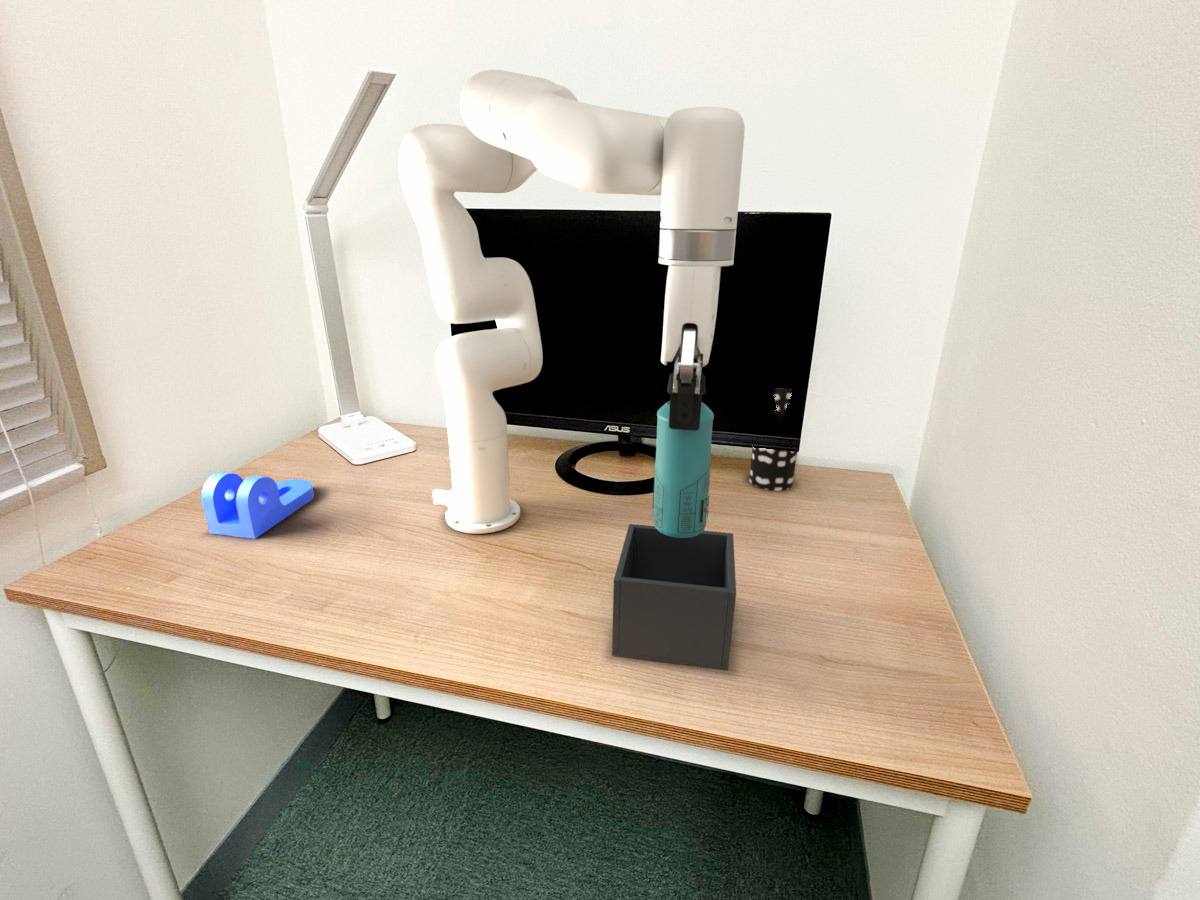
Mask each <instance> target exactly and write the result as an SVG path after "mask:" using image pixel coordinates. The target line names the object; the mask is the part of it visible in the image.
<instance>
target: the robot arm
mask: <svg viewBox="0 0 1200 900" xmlns="http://www.w3.org/2000/svg"><path fill="white" fill-rule="evenodd" d="M459 111H460V116H461V118H462V120H463V122H464V124H465V125H457V124H447V123H428V124H422V125H419V126H416V127H414V128H412V129H410V130H409V131H408V132H407V133H406V134H405V136H404V137H403V139H402V142H401V144H400V148H399V153H398V174H399V181H400V185H401V189H402V193H403V195H404V198H405V201H406V204H407V206H408V208H409V210H410V213H411V216H412V218H413V220H414V223H415V226H416V227H417V231H418V235H419V238H420V243H421V244H420V245H421V249H422V255H423V259H424V264H425V269H426V273H427V279H428V284H429V289H430V294H431V298H432V302H433V306H434V309H435V311H436V313H437V315H438V317H439V318H440V319H441V320H442V321H443V322H445V323H448V324H454V325H459V324H460V325H461V324H463V325H464V324H473V323H482V322H489V321H495V323H496V327H497V328H491V329H482V330H475V331H469V332H468V331H467V332H463V333H458V334H455V335H452V336H449V337H448V338H446V339H445V340H444V341H442V342H441V343H440V344H439V346H437V349H436V351H435V354H434V365H435V371H436V375H437V379H438V382H439V385H440V390H441V393H442V397H443V403H444V409H445V416H446V418H445V419H446V428H447V438H448V449H449V450H448V451H449V462H450V476H451V485H452V486H451V487H452V488H451V489H442V488H434V489H432V493H431V498H432V505H434V506H439V507H440V506H445V507H446V508H447V509H446V511H445V523H446V524H447V526H449V527H450V528H451V529H452V530H455V531H457V532H460V533H465V534H473V535H474V534H475V535H476V534H477V535H478V534H479V535H482V534H483V535H484V534H490V533H496V532H500V531H503V530H506V529H508V528H509V527H511V526H513V525H514V524H516V523H517V522H518V520H519V519H520V517H521V507H520V505H519V504H518V503H517V501H515V500H514V499H511V483H510V459H509V458H510V457H509V438H508V422H507V416H506V413H505V410H504V409H503V407H502V406H501V405H500V404H499V403H498V401H497V400H496V399H495V397H494V394H493V393H494V392H495V391H499V390H501V389H502V390H503V389H506V388H510V387H515V386H519V385H523V384H526V383H530V382H532V381H533V380H535V379H536V378H537V377H538V376H539V374H540V372H541V371H542V367H543V361H544V360H543V359H544V357H543V356H544V355H543V353H544V352H543V344H542V339H541V331H540V326H539V321H538V313H537V308H536V301H535V296H534V290H533V286H532V283H531V280H530V277H529V275H528V274H527V271H526V270H525V268H524V267H523V266H522V265H521V264H520V263H519V262H518V261H516V260H514V259H511V258H509V257H503V256H502V257H484V255H483V252H482V248H481V243H480V237H479V232H478V228H477V225H476V223H475V220H473V218H472V216H471V215H470V213H469V212H468V209H466V207H465V206H464V205H463V204H462V203H461V201H459V200H458V199H457V198H456V196H455V193H456V192H457V193H458V192H460V193H480V194H505V193H510V192H513V191H515V190H517V189H518V188H520V187H521V186H523V185H524V183H526V181H528V179H530V177H531V176H533V175H534V173H536V171H538V172H539V173H541V174H542V175H544V176H546V177H548V178H551V179H553V180H555V181H558V182H561V183H563V184H566V185H569V186H571V187H574V188H576V189H579V190H582V191H586V192H590V193H593V194H594V193H595V194H604V195H605V194H606V195H609V194H611V195H613V194H614V195H615V194H616V195H636V196H660V216H659V217H660V218H659V219H660V220H659V228H660V229H659V237H658V239H659V240H658V244H659V245H658V261H657V262H658V264H660V265H665V266H668V267H667V274H666V283H665V292H664V293H665V294H664V305H663V306H664V309H663V323H662V325H663V326H662V339H661V340H662V343H661V354H660V362H661V364H663V365H664V366H668V363H672V362H673V361H674V363H673V372H674V379H673V391H671V394H669V401H670V412H669V427H670V428H671V429H679V430H694V431H697V430H698V429H699V427H700V414H701V402H703V401H702V400H703V395H702V393H700V380H701V374H702V370H703V368H704V367H706V366H707V365H708V364H709V361H710V356H711V352H712V347H713V341H714V336H715V330H716V329H715V328H716V321H717V312H718V304H719V294H720V293H719V292H720V282H721V272H722V271H721V270H722V267H730V266H734V262H735V261H734V260H735V259H734V258H735V248H736V235H737V226H738V214H739V205H740V204H739V203H740V191H741V179H742V167H743V157H744V145H745V129H746V127H745V122H744V118H743V115H741V114H740V113H739V112H738V111H736V110H734V109H731V108H727V107H719V106H695V107H687V108H682V109H678V110H676V111H673V112H672V113H671V114H670V115H669V116H668V117H665V116H658V115H652V114H648V113H643V112H637V111H631V110H624V109H617V108H611V107H610V108H609V107H604V106H599V105H595V104H591V103H586V102H582V101H579V100H578V98H577V96H576V95H575V94H574V93H573V91H572V90H571V89H569V88H567V86H564V85H561V84H558V83H557V84H556V83H555V81H552V80H549V79H547V78H544V77H540V76H539V77H538V76H534V75H527V74H523V73H517V72H514V71H513V72H512V71H507V70H502V69H487V70H482V71H479V72H477V73H475V74H474V75H472V76H471V77H469V79H468V80H467V81H466V82H465V84H464V85H463V87H462V90H461V92H460V96H459ZM695 372H696V374H695ZM694 390H695V392H694Z"/></svg>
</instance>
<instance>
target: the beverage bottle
mask: <svg viewBox="0 0 1200 900" xmlns="http://www.w3.org/2000/svg"><path fill="white" fill-rule="evenodd" d="M695 374H696V372H695ZM673 379H674V371H673V372H671V373H670V374H669V377H668V384H667V388H666V391H667V393H668V394H669V395H670V394H671V391H673ZM706 390H707V389H706V376H705V374H703V373H701V380H700V393H702V396H704V395H706ZM694 392H695V390H694ZM669 412H670V400H669V401H667V402H665V403H664V404H663V405H662V406H661V407H660V408H659V409H658V410H657V412H656V416H657V419H656V421H657V422H656V423H657V424H656V442H655V443H656V447H655V449H656V450H655V457H654V458H655V460H654V468H653V473H654V476H653V482H654V484H653V488H652V510H651V511H652V519H651V520H652V522H653V526H655V528H656V529H657V530H658V531H659V532H661V533H662V534H665V535H667V536H671V537H677V538H688V537H694V536H697V535H699V534H701V533H702V532H703V531H705V529H706V527H707V524H708V523H707V522H708V517H709V504H710V503H709V502H710V495H709V492H710V491H711V490H710V489H711V487H710V486H711V479H710V478H711V475H712V474H711V473H712V472H711V463H712V461H713V460H711V459H712V457H711V456H713V453H712V437H713V423H714V422H713V421H714V419H715V414H714V412H713V411H712V409H710V407H708V406H707V404H705V403H704V402H703V401H702V402H701V414H700V427H699V429H698V430H697V431H694V430H679V429H671V428H670V427H669Z"/></svg>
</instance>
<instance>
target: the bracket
mask: <svg viewBox="0 0 1200 900" xmlns="http://www.w3.org/2000/svg"><path fill="white" fill-rule="evenodd" d="M313 488H314V487H313V483H312V482H311V481H309V480H306V479H301V478H291V479H284V480H280V481H275V479H273V478H272V477H271V476H270V477H269V476H265V475H263V476H261V475H251V476H248V477H246V478H245V479H243V478H242V477H241V476H240V475H239V474H237V473H233V472H222V471H220V472H215V473H213V474H211V475H210V476H209V477H208V478H207V479H206V480H205V483H204V484H203V486H202V489H201V505H202V508H203V512H204V515H205V520H206V524H207V528H208V532H209V534H211V535H212V534H213V535H221V536H229V537H238V538H245V539H254V540H255V539H257V538H259V537H260V536H262V535H263V534H264V533H266V532H267V531H269V530H270V529H271V528H273V527H274V526H276V525H277V524H279V523H280V522H282V521H284V520H285V519H286V518H288V517H289V516H290V515H293V513H295V512H296V511H298V510H300V508H302V507H303V506H305V505H306V504H308V503H309V502H311V501H312V500H313V499H314V498H315V494H314V493H315V492H314V489H313Z"/></svg>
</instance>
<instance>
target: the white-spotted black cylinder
mask: <svg viewBox="0 0 1200 900" xmlns="http://www.w3.org/2000/svg"><path fill="white" fill-rule="evenodd" d="M775 389H776V390H775ZM775 389H774V390H775V391H776V392H775V391H774V392H775V394H774V395H775V396H776V397H775V396H774V395H773V396H774V397H775V398H774V399H775V404H776V408H777V409H776V410H777V413H778V412H779V413H780V412H781V413H780V414H782V415H783V414H784V413H785V412H786V411H785V410H786V408H787V404H788V403H789V402H790V401H789V400H790V399H791V398H790V397H791V396H792V395H791V394H792V392H791V391H792V389H786V388H785V389H784V388H775ZM790 392H791V393H790ZM788 401H789V402H788ZM777 404H778V405H777ZM789 404H790V403H789ZM789 404H788V405H789ZM777 406H778V407H777ZM776 410H775V411H776ZM784 411H785V412H784ZM775 413H776V412H775ZM779 413H778V414H779ZM778 416H779V415H778ZM780 416H781V415H780ZM780 418H781V417H780ZM797 456H798V451H797V452H792V451H784V450H773V449H766V448H754V447H753V446H752V448H751V457H750V467H749V475H748V476H749V477H748V481H749V483H750V484H752V486H754V487H757V488H759V489H761V490H766V491H776V492H781V491H786V490H789V489H791V488H792V487H793V485H794V478H795V471H796V463H797V458H798V457H797Z"/></svg>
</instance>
